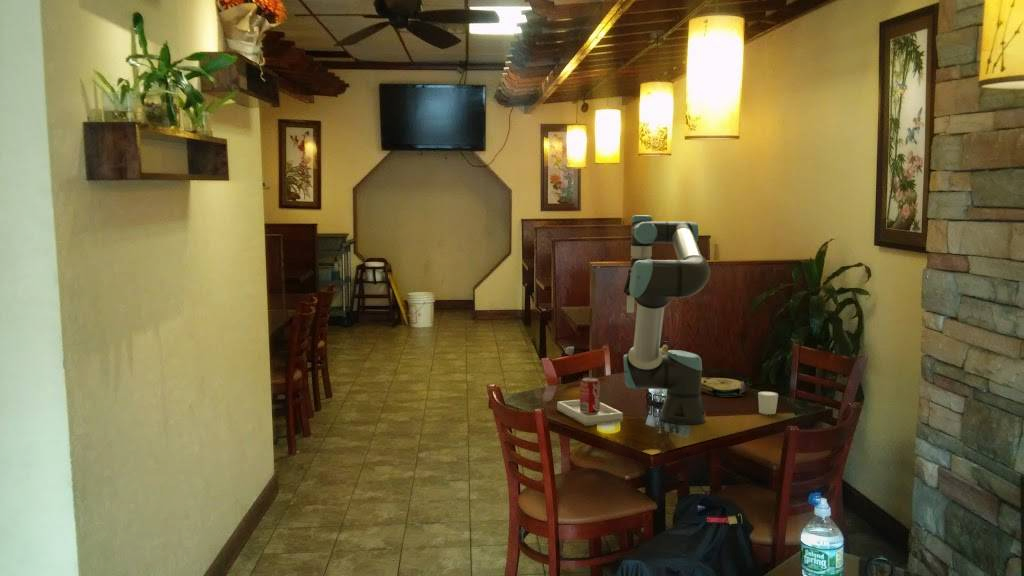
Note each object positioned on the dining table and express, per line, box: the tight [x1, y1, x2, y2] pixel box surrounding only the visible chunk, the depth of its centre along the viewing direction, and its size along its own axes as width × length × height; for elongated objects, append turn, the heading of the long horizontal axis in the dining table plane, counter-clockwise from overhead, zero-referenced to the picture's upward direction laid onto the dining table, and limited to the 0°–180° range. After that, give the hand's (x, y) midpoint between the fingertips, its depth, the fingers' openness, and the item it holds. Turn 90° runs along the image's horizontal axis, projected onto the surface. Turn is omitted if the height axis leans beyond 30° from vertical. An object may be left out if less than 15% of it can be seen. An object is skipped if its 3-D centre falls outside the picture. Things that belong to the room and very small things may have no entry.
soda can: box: [579, 376, 601, 415], centre depth 289 cm, size 7×7×12 cm
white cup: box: [757, 390, 779, 416], centre depth 295 cm, size 7×7×7 cm
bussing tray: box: [556, 399, 624, 427], centre depth 290 cm, size 22×14×3 cm, turn 23°
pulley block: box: [701, 377, 752, 398], centre depth 328 cm, size 14×6×30 cm
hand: (640, 315), depth 306 cm, fingers open, 13 cm apart
